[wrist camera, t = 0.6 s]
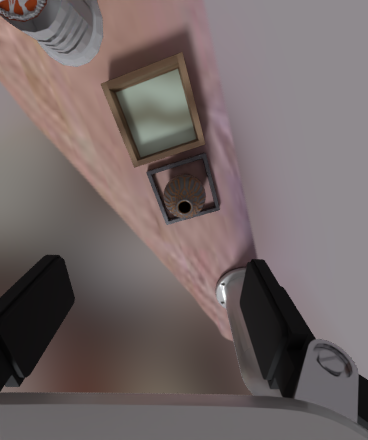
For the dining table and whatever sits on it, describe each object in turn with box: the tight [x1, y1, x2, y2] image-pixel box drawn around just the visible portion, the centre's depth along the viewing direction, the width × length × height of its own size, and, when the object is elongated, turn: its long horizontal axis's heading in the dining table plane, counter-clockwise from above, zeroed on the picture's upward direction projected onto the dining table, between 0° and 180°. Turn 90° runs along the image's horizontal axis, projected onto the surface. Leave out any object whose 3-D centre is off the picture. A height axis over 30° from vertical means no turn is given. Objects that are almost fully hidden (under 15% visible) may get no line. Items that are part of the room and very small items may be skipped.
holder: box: [101, 52, 205, 168], centre depth 30 cm, size 12×12×3 cm
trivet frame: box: [146, 153, 220, 225], centre depth 36 cm, size 10×10×1 cm
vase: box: [164, 174, 206, 218], centre depth 32 cm, size 7×7×9 cm
